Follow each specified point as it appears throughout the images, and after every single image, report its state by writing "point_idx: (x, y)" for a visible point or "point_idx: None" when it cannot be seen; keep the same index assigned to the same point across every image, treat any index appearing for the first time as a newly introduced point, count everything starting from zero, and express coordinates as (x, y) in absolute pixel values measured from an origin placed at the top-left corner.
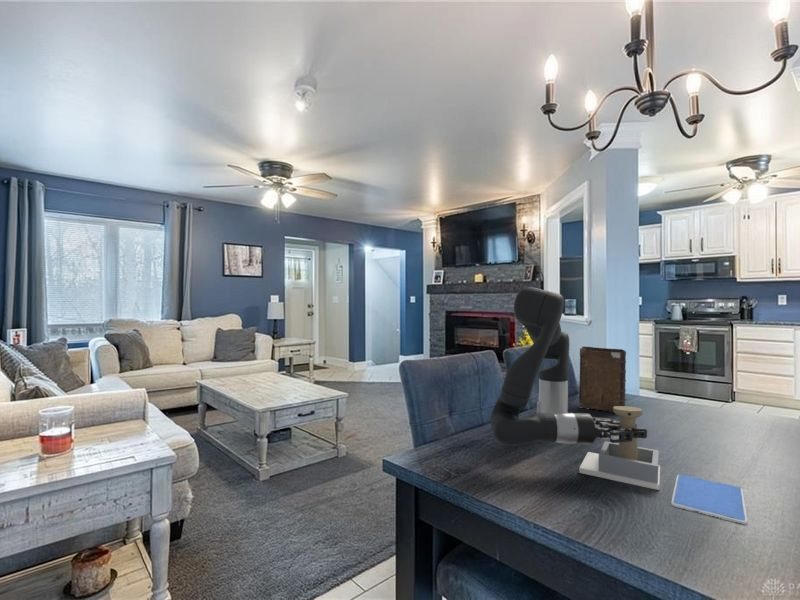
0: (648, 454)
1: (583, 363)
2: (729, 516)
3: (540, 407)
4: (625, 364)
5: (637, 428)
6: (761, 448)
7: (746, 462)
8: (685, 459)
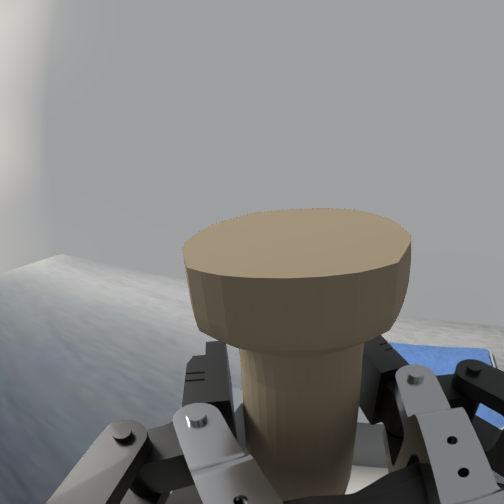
0: (236, 426)
1: None
2: (489, 360)
3: None
4: None
5: (367, 344)
6: (122, 283)
7: (172, 305)
8: (148, 362)
